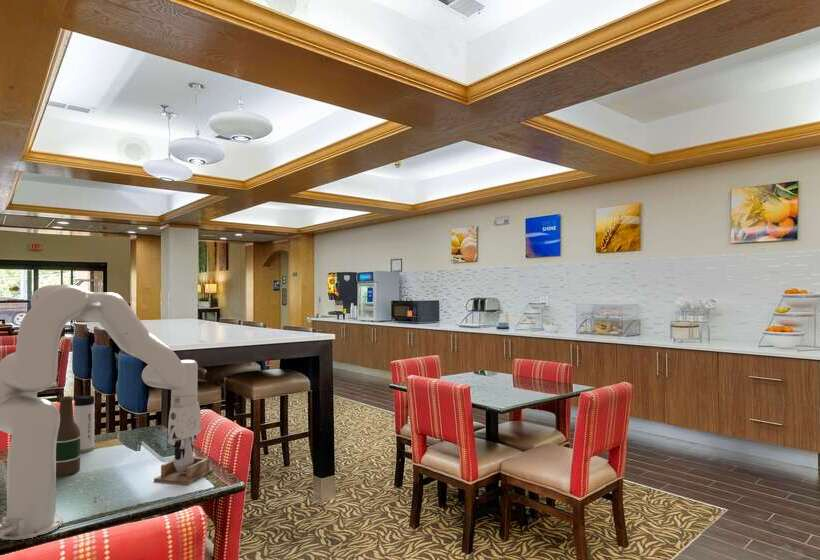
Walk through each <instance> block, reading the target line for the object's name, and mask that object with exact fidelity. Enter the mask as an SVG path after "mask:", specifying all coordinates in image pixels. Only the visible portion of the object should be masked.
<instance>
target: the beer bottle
mask: <svg viewBox="0 0 820 560" xmlns="http://www.w3.org/2000/svg"><path fill="white" fill-rule="evenodd" d="M73 400H74V398H73V396H71V395H70V396H62V397H60V398H59V400H58V402H59V413H60V425H59V430H58V435H57V442H56V478H58V477H59V478H60V477H66V476H67V477H68V476H72V475H75V474H76V472H77V473H78V472H79V471H80V469H81V453H80V430H79V427H78V425H77V424H76V423H75V422H74V409H73V407H74V406H73ZM71 474H72V475H71Z"/></svg>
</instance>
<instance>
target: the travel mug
mask: <svg viewBox="0 0 820 560" xmlns="http://www.w3.org/2000/svg"><path fill="white" fill-rule="evenodd" d="M72 397H73V399H74V406H73V407H74V409H73V418H74V422H75V423H76V424H77V425H78V427H79V430H80V454H82V453H88V452H90V451H93V450H94V449H95V403H96V402H95V396H94V395H90V394H89V395H88V394H83V395H81V394H80V395H76V394H74V395H73V396H72Z"/></svg>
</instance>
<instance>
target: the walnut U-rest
mask: <svg viewBox="0 0 820 560" xmlns="http://www.w3.org/2000/svg"><path fill="white" fill-rule="evenodd" d="M193 458H194V463H193V465H191V466H189V467H187V471H184V472H178V471H177V470H176V468H175V466H174V464H173V462H174V459H172V460H170V461H167V462H164V463H163V464H161V466H160V475H159V476H156V477H155V478H153V482H158V483H166V484H172V485H173V484H175V485H182V484H183V485H184V486H189V485H190V483H191V484H193V483H194V482H196V481H197V479H198V480H200V479H202V478H203V476H204V475H206V474H207V475H209V474H211V473H213V472H214V468H210V464H211V463H210V461H211V459H210V457H209V458H208V457H199V456H193ZM212 471H213V472H212ZM210 472H211V473H210ZM208 473H209V474H208ZM207 475H206V476H207ZM201 477H202V478H201ZM204 477H205V476H204ZM199 478H200V479H199ZM188 484H189V485H188Z"/></svg>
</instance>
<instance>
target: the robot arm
mask: <svg viewBox="0 0 820 560" xmlns="http://www.w3.org/2000/svg"><path fill="white" fill-rule="evenodd" d="M30 307H31V308H30V309H29V310H28V311H27V312H26V314H25V315H23V318H22V319H21V322H20V325H19V328H18V332H17V333H18V334H17V339H16V346H15V351H14V352H12V353H9V354H7V355H6V356H4V357H3V358H2V359H1V360H0V431H1V432H2V433H6V434H9V435H11V440H10V444H9V448H8V452H7V460H6V461H7V462H6V463H7V464H6V465H7V466H6V470H7V475H6V480H7V481H6V482H7V483H6V516H3V517H1V522H0V538H2V539H6V540H7V539H9V540H18V539H19V540H20V539H26V538H32V539H34V538H33V537H36V536H37V535H40V534H43V533H47V532H49V531H52V530H54V531H56V530H58V529H59V528H60V527H61V526H62V525H63V524H64V517H63V516H62V515H61V514H58V513H57V512H56V506H57V505H56V503H57V501H56V499H57V498H56V495H57V491H56V489H57V484H56V483H57V482H56V481H57V477H56V442H57V435H58V430H59V425H60V413H59V411H60V409H59V408H58V407H57V406H56V404H55V403H54V402H52V401H50V400H49V399H46V398H42V397H38V393H40V392H41V393H42V392H44V391H47V390H49V389H50V388H51V387H52V386H53V385H54V384H55V382H56V380H57V378H58V377H57V376H58V366H59V365H58V364H59V349H60V341H61V340H60V339H61V334H62V332H63V329H64V327H65V326H66V325H67V324H68V322H70V321H74V322H86V323H98V324H99V325H100V326H101V327H102V328H103V330H104V331H105V332H106V333H107V334H108V335H109V337H110V338H111V339H112V340H113V342H114V343H115V344H116V345H117V347H118V348H119V349H120V350H121V351H123V352H124V353H126V354H128V355H130V356H133V357H134V358H136V359H139V360H141V361H142V362H144V363H146V366H145V367H144V368H143V370H142V373H141V378H142V381H143V383H144V384H145V385H147V386H149V387H152V388H158V389H164V390H171V391H170V392H171V393H170V409H169V414H168V426H167V436H168V438H167V442H166V443H167V445H170V446H172V447H173V449H174V458H176V460H180V458H181V451H182V455H183V459H184V454H185V449H183V447H184V439H187V438H189V437H190V441H191V447H192V452H193V453H194V445H195V440H196V438H197V436H198V435H199V434H200V433H201V431H202V416H201V408H200V407H201V406H200V403H199V401H198V375H199V374H198V369H199V367H198V366H199V365H198V362H197V361H196V360H195V359H180V357H178V355H177V354H176V353H175V352H174V350H173V349H171V348H170V347H169V346H168V345H167V344H166V343H164V342H163V341H162V340H160V339H159V337H157V336H155V335H154V334H153V333H152V332H150V331H149V330H148V328H147V327H146V326H145V325H144V323H143V322H142V321H141V320H140V318H139V316H138V315H137V314H136V313H135V312H134V310H133V308H132V307H131V306H130V305H129V303H128V302H127V301H126V300H125V298H124V297H123V296H122V295H120V294H119V293H115V292H110V291H108V292H106V291H105V292H103V291H102V292H101V291H99V292H94V291H86V290H85V289H84V288H82V287H80V286H78V285H74V284H53V285H52V284H51V285H50V284H49V285H44V286H41V287H39V288H38V289H36V290H35V291H34V292H33V294H32V295H31V297H30ZM178 441H180V443H179V442H178ZM56 513H57V514H56ZM59 526H60V527H59ZM58 527H59V528H58ZM57 528H58V529H57ZM55 529H56V530H55ZM52 532H53V531H52ZM36 538H37V537H36Z"/></svg>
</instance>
